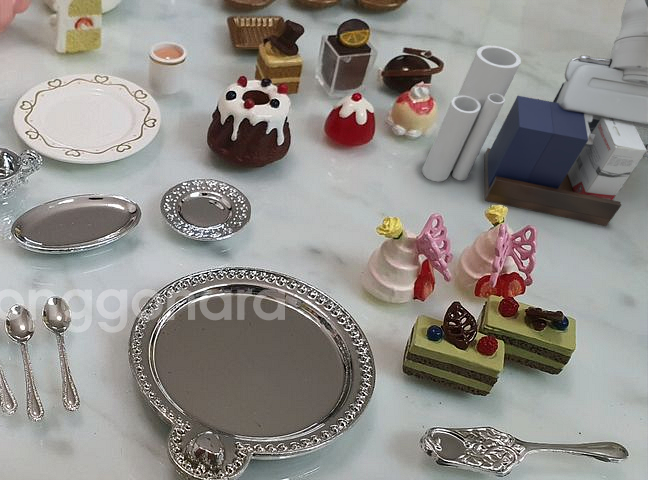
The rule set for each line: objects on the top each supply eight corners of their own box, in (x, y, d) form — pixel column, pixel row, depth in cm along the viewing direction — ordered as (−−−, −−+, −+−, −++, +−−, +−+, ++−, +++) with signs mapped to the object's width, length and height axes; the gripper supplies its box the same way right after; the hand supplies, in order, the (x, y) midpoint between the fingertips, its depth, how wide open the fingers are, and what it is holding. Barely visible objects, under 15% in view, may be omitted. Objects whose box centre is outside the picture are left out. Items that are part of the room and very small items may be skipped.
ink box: (608, 209, 123) (649, 151, 114) (577, 205, 123) (615, 146, 114) (595, 175, 128) (634, 117, 120) (565, 172, 129) (601, 114, 120)
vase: (438, 142, 136) (482, 40, 121) (478, 156, 134) (528, 55, 118) (418, 175, 130) (462, 72, 115) (459, 191, 127) (510, 88, 112)
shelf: (598, 177, 131) (612, 156, 127) (606, 226, 122) (621, 205, 119) (484, 154, 134) (494, 133, 131) (484, 200, 126) (495, 179, 122)
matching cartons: (548, 166, 130) (583, 107, 121) (551, 199, 124) (588, 140, 115) (487, 154, 132) (517, 95, 123) (488, 186, 126) (519, 126, 117)
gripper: (578, 47, 118) (554, 135, 119) (723, 70, 114) (696, 160, 115) (562, 58, 124) (539, 141, 125) (699, 80, 120) (674, 166, 121)
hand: (616, 151), depth 120 cm, fingers open, 8 cm apart
